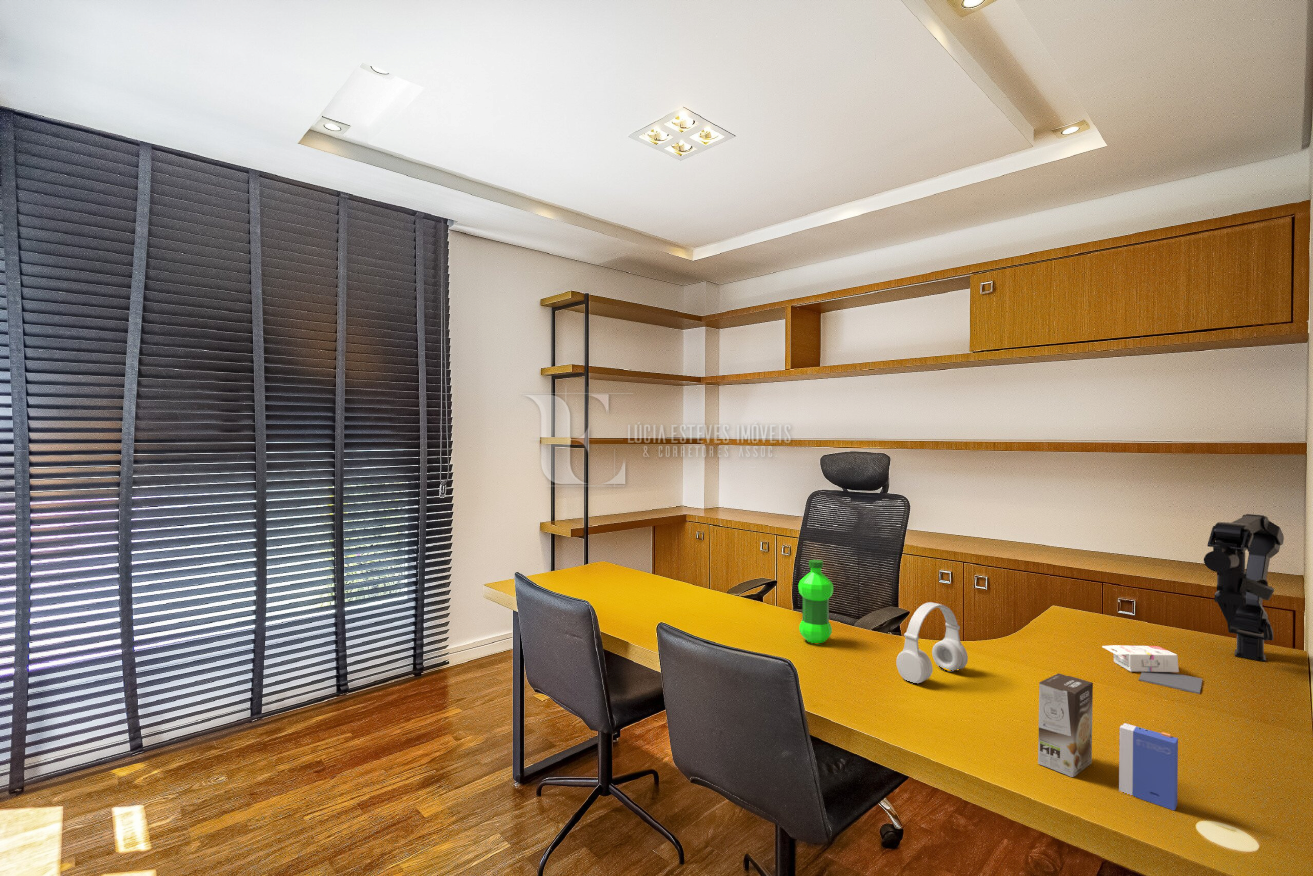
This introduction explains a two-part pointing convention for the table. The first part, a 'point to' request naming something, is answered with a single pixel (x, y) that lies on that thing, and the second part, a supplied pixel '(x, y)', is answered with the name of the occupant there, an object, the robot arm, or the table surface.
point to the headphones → (944, 652)
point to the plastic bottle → (815, 604)
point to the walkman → (1148, 765)
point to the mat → (1173, 680)
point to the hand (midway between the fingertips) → (1230, 623)
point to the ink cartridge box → (1144, 658)
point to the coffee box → (1065, 724)
